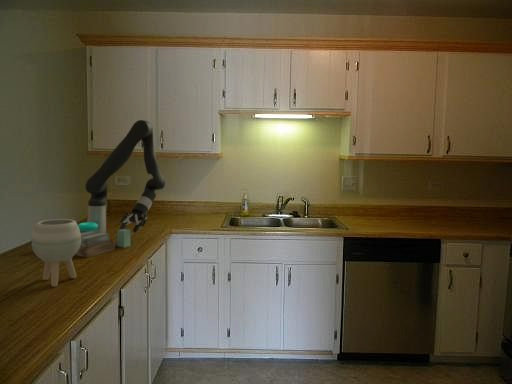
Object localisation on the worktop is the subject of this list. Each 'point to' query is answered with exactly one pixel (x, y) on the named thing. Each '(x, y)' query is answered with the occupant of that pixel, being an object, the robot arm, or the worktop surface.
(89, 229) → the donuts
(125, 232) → the brick
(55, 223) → the planter
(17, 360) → the worktop surface
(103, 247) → the brown truncated pyramid
